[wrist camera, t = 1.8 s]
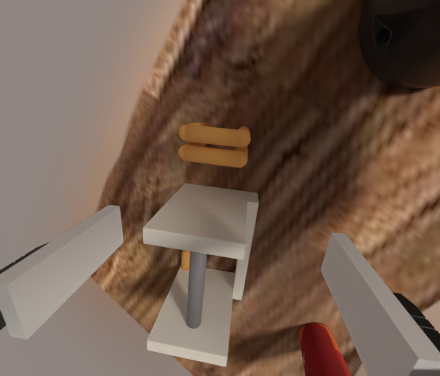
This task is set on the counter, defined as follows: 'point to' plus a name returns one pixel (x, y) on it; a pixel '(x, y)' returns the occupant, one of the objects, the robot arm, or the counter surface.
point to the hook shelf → (202, 268)
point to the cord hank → (205, 135)
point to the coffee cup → (321, 352)
